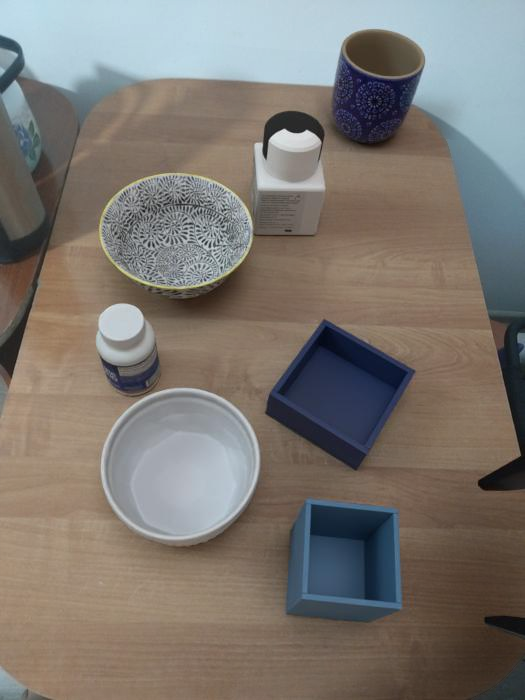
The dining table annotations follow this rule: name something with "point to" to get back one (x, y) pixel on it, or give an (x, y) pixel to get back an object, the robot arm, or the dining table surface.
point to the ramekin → (180, 466)
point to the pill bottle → (127, 349)
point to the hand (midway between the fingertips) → (483, 549)
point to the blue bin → (344, 562)
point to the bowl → (176, 233)
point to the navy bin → (339, 393)
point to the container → (288, 176)
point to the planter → (375, 84)
